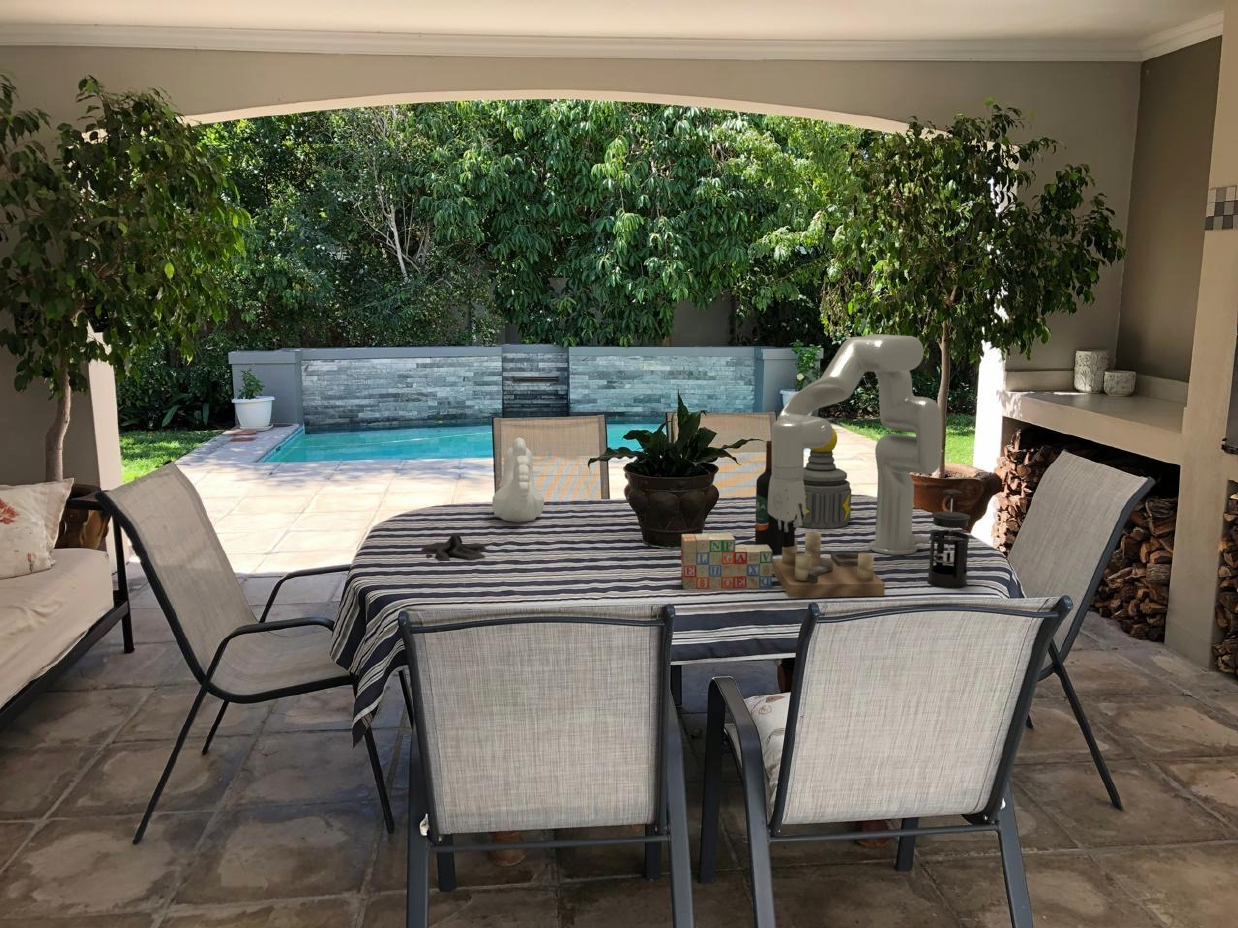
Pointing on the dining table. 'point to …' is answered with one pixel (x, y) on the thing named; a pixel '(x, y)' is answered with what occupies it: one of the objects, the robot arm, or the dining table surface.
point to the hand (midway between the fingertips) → (787, 546)
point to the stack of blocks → (723, 563)
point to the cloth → (454, 549)
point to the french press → (947, 573)
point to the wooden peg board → (830, 576)
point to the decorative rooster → (518, 487)
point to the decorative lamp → (825, 490)
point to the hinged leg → (809, 566)
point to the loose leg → (813, 544)
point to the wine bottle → (766, 509)
